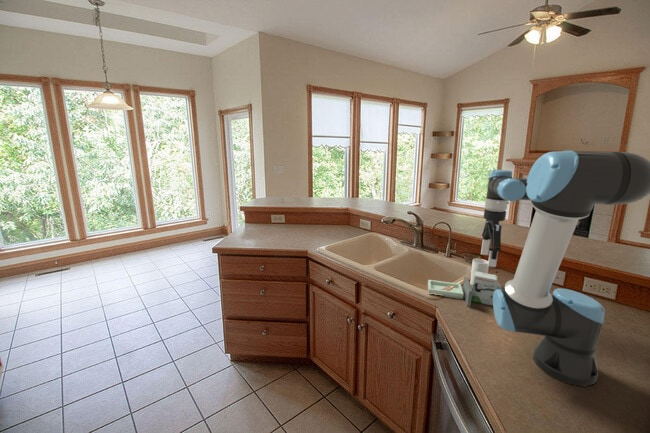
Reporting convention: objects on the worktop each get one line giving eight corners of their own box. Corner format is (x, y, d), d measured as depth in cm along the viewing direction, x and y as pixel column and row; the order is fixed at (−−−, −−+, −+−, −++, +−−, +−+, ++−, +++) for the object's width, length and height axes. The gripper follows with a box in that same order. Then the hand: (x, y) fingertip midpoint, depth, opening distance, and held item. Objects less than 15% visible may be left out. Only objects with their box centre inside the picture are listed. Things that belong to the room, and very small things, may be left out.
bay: (503, 311, 120) (506, 295, 118) (467, 306, 123) (469, 290, 122) (495, 296, 132) (497, 281, 131) (462, 291, 136) (464, 277, 134)
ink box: (470, 300, 128) (473, 275, 125) (470, 295, 132) (474, 270, 129) (493, 306, 124) (497, 279, 121) (493, 300, 128) (497, 275, 126)
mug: (479, 289, 138) (482, 265, 135) (466, 283, 144) (469, 260, 141) (492, 284, 143) (496, 261, 140) (479, 279, 149) (483, 256, 146)
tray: (462, 299, 129) (463, 293, 129) (428, 294, 133) (429, 289, 132) (459, 288, 139) (460, 283, 138) (427, 284, 142) (428, 279, 142)
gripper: (515, 217, 106) (506, 273, 111) (498, 204, 129) (490, 251, 135) (492, 215, 108) (484, 270, 113) (478, 203, 132) (472, 249, 137)
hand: (487, 260), depth 124 cm, fingers open, 13 cm apart
